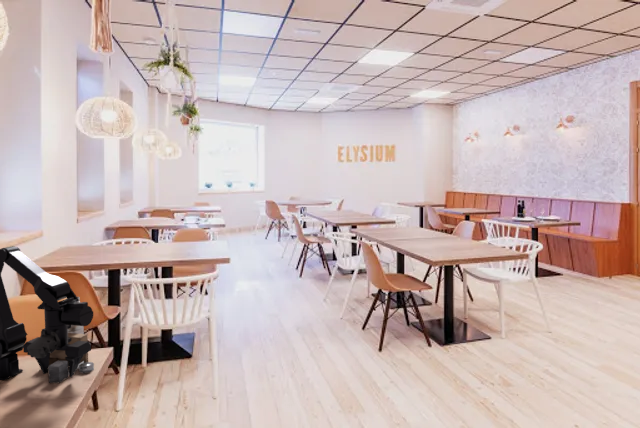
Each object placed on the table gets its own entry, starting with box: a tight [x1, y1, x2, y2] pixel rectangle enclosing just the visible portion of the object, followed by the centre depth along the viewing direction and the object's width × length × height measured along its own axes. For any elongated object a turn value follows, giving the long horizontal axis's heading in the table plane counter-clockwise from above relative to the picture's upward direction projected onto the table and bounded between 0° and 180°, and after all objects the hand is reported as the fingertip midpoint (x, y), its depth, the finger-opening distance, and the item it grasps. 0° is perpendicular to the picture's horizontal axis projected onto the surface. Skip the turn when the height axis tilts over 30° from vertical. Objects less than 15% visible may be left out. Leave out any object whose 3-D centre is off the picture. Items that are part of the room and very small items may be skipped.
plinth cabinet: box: [49, 333, 89, 366], centre depth 139 cm, size 12×6×10 cm, turn 78°
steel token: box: [78, 361, 95, 374], centre depth 136 cm, size 4×4×2 cm
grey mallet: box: [48, 361, 84, 384], centre depth 133 cm, size 3×12×5 cm, turn 175°
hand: (58, 374), depth 129 cm, fingers open, 9 cm apart
